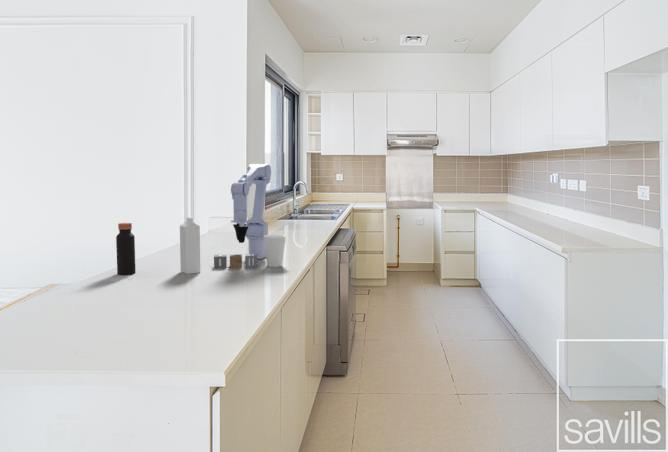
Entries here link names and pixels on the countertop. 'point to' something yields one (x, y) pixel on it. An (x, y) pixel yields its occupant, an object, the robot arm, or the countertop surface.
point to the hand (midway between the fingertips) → (240, 241)
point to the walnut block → (236, 261)
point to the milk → (190, 247)
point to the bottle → (125, 250)
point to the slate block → (250, 260)
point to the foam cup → (274, 249)
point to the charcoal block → (220, 261)
